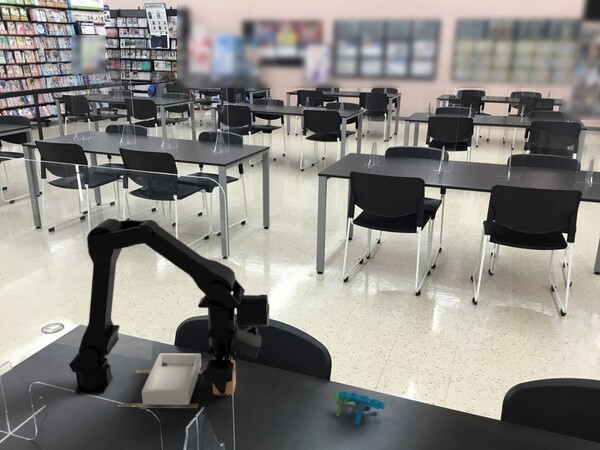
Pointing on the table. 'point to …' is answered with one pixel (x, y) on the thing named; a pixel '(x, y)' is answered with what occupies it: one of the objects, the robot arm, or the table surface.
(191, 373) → the white open storage bin
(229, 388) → the part block
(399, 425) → the table surface
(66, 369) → the table surface
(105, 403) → the table surface
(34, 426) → the table surface
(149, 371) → the track
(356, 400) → the toy construction assembly
